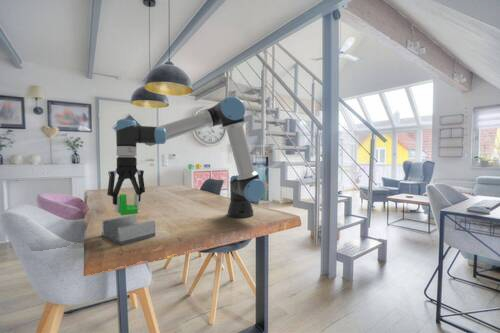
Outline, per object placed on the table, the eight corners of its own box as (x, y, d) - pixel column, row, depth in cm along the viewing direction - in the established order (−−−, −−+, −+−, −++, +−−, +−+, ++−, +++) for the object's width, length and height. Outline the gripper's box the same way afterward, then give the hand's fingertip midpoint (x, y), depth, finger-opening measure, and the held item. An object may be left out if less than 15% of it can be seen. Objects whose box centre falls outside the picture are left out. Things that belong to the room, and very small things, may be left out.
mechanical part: (137, 213, 98) (137, 194, 98) (121, 215, 94) (120, 195, 94) (132, 208, 108) (132, 190, 107) (117, 210, 104) (117, 191, 104)
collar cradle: (155, 236, 101) (155, 220, 101) (120, 245, 90) (120, 228, 90) (134, 228, 113) (134, 214, 113) (101, 235, 102) (101, 220, 102)
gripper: (103, 156, 90) (104, 216, 91) (153, 157, 106) (154, 208, 107) (96, 156, 95) (97, 213, 96) (145, 157, 111) (145, 206, 111)
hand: (127, 210), depth 101 cm, fingers closed on mechanical part, 7 cm apart
